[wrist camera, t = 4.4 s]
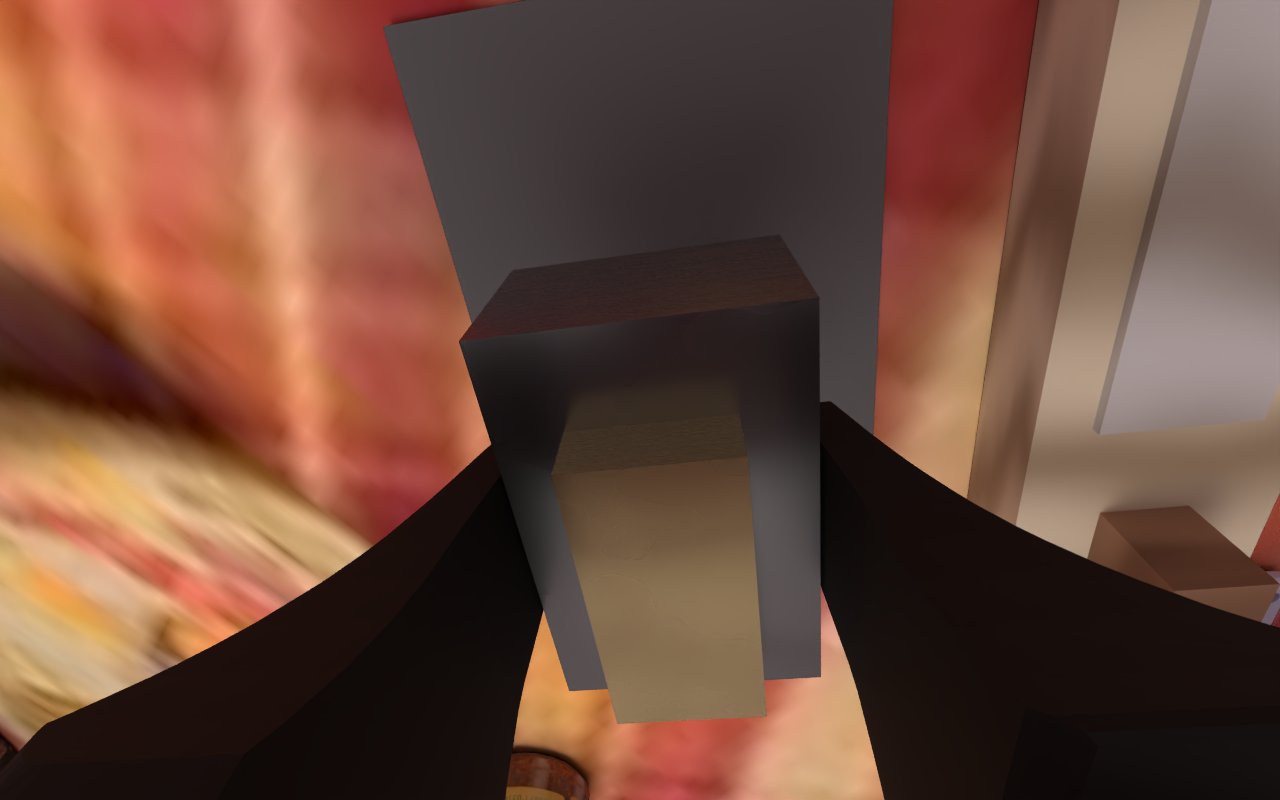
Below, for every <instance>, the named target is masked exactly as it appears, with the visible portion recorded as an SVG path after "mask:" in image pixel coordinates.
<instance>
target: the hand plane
mask: <svg viewBox="0 0 1280 800" xmlns="http://www.w3.org/2000/svg"><path fill="white" fill-rule="evenodd" d="M1279 493H1280V0H1039V6H1038V13H1037V20H1036V27H1035V34H1034V40H1033V47H1032V54H1031V61H1030V68H1029V75H1028V82H1027V89H1026V96H1025V103H1024V110H1023V117H1022V124H1021V131H1020V138H1019V145H1018V151H1017V158H1016V165H1015V172H1014V179H1013V186H1012V193H1011V200H1010V207H1009V214H1008V221H1007V228H1006V235H1005V242H1004V249H1003V256H1002V262H1001V269H1000V276H999V283H998V290H997V297H996V304H995V311H994V318H993V325H992V332H991V339H990V346H989V353H988V360H987V367H986V373H985V380H984V387H983V394H982V401H981V408H980V415H979V422H978V429H977V436H976V443H975V450H974V457H973V464H972V471H971V478H970V484H969V491H968V498H967V499H968V500H969V501H971V502H973V503H974V504H976V505H978V506H980V507H982V508H984V509H985V510H987V511H989V512H991V513H993V514H995V515H997V516H999V517H1000V518H1002V519H1004V520H1006V521H1008V522H1010V523H1012V524H1013V525H1015V526H1017V527H1019V528H1021V529H1023V530H1025V531H1027V532H1029V533H1031V534H1034V535H1036V536H1038V537H1040V538H1042V539H1044V540H1046V541H1048V542H1050V543H1053V544H1055V545H1057V546H1059V547H1062V548H1064V549H1066V550H1068V551H1071V552H1073V553H1075V554H1077V555H1080V556H1082V557H1084V558H1086V559H1089V560H1091V561H1093V562H1095V563H1098V564H1100V565H1103V566H1105V567H1108V568H1110V569H1113V570H1115V571H1118V572H1120V573H1123V574H1125V575H1128V576H1130V577H1133V578H1135V579H1138V580H1140V581H1143V582H1146V583H1148V584H1151V585H1154V586H1157V587H1159V588H1162V589H1165V590H1167V591H1170V592H1173V593H1176V594H1178V595H1181V596H1184V597H1187V598H1189V599H1192V600H1195V601H1197V602H1200V603H1203V604H1206V605H1209V606H1212V607H1215V608H1218V609H1221V610H1224V611H1227V612H1230V613H1233V614H1237V615H1240V616H1243V617H1246V618H1249V619H1253V620H1256V621H1259V622H1262V620H1263V618H1264V616H1265V614H1266V612H1267V610H1268V608H1269V606H1270V604H1271V602H1272V600H1273V598H1274V596H1275V594H1276V592H1277V590H1278V588H1279V586H1280V583H1279V582H1277V581H1276V580H1275V579H1274V578H1273V577H1272V576H1270V575H1269V574H1268V573H1267V572H1266V571H1265V570H1263V569H1262V568H1261V567H1260V566H1259V565H1258V564H1256V563H1255V562H1254V561H1253V560H1252V559H1251V558H1250V557H1251V555H1252V552H1253V550H1254V548H1255V546H1256V544H1257V541H1258V539H1259V537H1260V535H1261V533H1262V530H1263V528H1264V526H1265V524H1266V522H1267V519H1268V517H1269V515H1270V513H1271V511H1272V508H1273V506H1274V504H1275V502H1276V500H1277V497H1278V495H1279Z"/></svg>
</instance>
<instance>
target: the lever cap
mask: <svg viewBox="0 0 1280 800" xmlns="http://www.w3.org/2000/svg"><path fill="white" fill-rule="evenodd" d="M459 343H460V346H461V350H462V353H463V356H464V359H465V362H466V365H467V369H468V372H469V375H470V378H471V381H472V384H473V388H474V391H475V394H476V397H477V400H478V403H479V407H480V410H481V413H482V416H483V419H484V422H485V426H486V429H487V432H488V435H489V438H490V441H491V444H492V448H493V451H494V454H495V457H496V460H497V463H498V467H499V470H500V473H501V476H502V479H503V482H504V486H505V489H506V492H507V495H508V498H509V501H510V505H511V508H512V511H513V514H514V517H515V520H516V524H517V527H518V530H519V533H520V536H521V539H522V543H523V546H524V549H525V552H526V555H527V558H528V562H529V565H530V568H531V571H532V574H533V577H534V581H535V584H536V587H537V590H538V593H539V596H540V600H541V603H542V606H543V609H544V612H545V615H546V619H547V622H548V625H549V628H550V631H551V634H552V638H553V641H554V644H555V647H556V650H557V653H558V657H559V660H560V663H561V666H562V669H563V672H564V676H565V679H566V682H567V685H568V688H569V691H579V690H597V689H608V690H609V694H610V698H611V702H612V705H613V709H614V713H615V717H616V720H617V724H623V723H643V722H663V721H683V720H703V719H724V718H744V717H764V716H767V712H766V698H765V685H764V680H775V679H793V678H811V677H821V574H820V297H819V296H818V294H817V293H816V291H815V289H814V288H813V286H812V285H811V283H810V282H809V280H808V278H807V277H806V275H805V274H804V272H803V270H802V269H801V267H800V266H799V264H798V263H797V261H796V259H795V258H794V256H793V255H792V253H791V251H790V250H789V248H788V247H787V245H786V244H785V242H784V240H783V239H782V237H781V236H780V234H778V235H771V236H764V237H756V238H749V239H741V240H734V241H726V242H719V243H711V244H704V245H696V246H689V247H681V248H674V249H666V250H659V251H651V252H644V253H637V254H629V255H622V256H614V257H607V258H599V259H592V260H584V261H577V262H569V263H562V264H554V265H547V266H539V267H532V268H524V269H517V270H512V271H511V272H510V274H509V275H508V276H507V278H506V279H505V280H504V282H503V283H502V284H501V286H500V287H499V288H498V290H497V291H496V292H495V294H494V295H493V296H492V298H491V299H490V300H489V302H488V303H487V304H486V306H485V307H484V308H483V310H482V311H481V312H480V314H479V315H478V316H477V318H476V319H475V321H474V322H473V323H472V325H471V326H470V327H469V329H468V330H467V331H466V333H465V334H464V335H463V337H462V338H461V339H460V341H459Z"/></svg>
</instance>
